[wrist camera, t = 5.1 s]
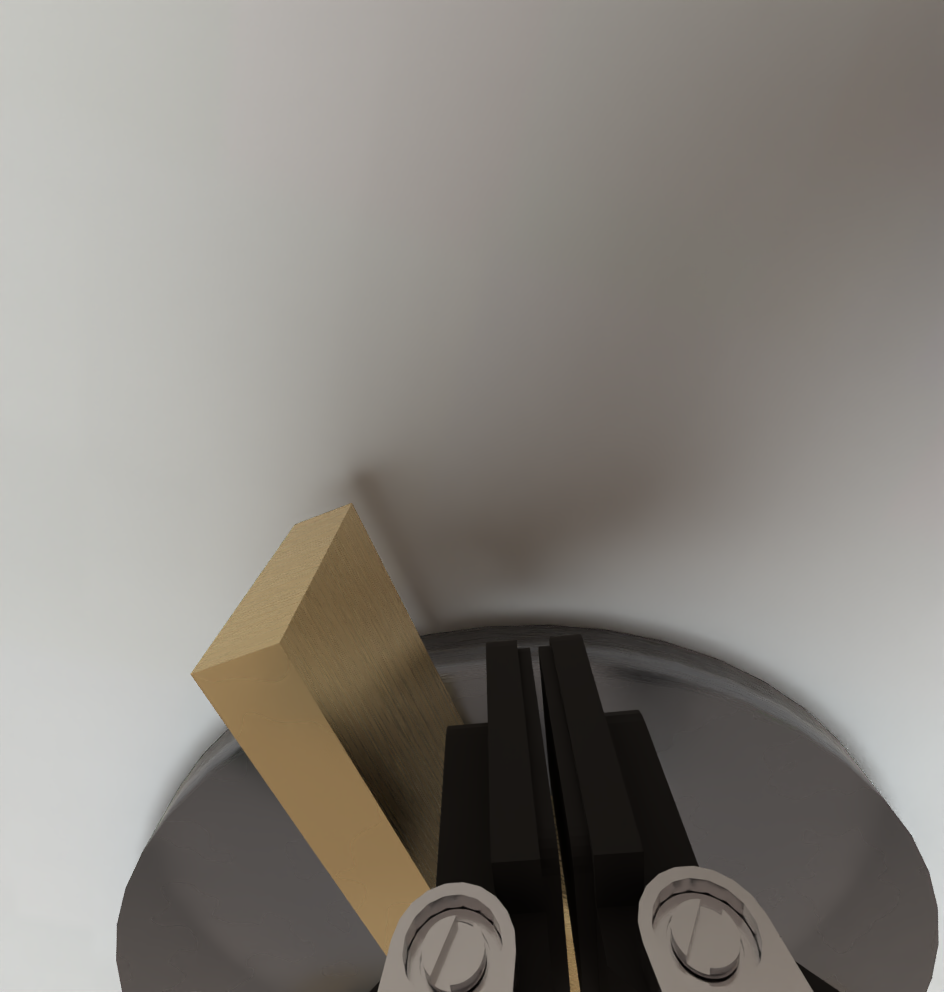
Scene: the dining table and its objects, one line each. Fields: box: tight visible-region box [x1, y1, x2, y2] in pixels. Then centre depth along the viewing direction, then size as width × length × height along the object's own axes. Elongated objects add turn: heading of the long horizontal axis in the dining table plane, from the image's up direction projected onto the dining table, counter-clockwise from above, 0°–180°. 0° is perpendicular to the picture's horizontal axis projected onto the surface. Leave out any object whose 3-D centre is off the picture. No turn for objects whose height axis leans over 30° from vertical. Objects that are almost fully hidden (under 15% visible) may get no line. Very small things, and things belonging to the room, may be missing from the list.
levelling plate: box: [116, 625, 938, 992], centre depth 18 cm, size 24×24×3 cm
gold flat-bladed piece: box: [191, 503, 580, 992], centre depth 11 cm, size 12×4×5 cm, turn 22°
